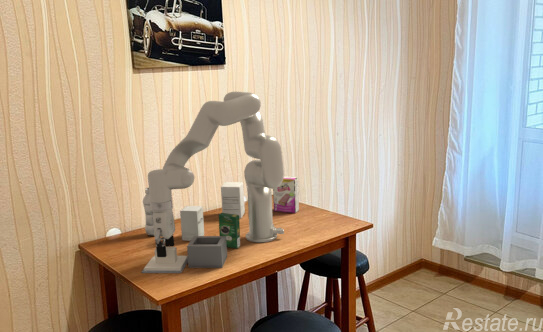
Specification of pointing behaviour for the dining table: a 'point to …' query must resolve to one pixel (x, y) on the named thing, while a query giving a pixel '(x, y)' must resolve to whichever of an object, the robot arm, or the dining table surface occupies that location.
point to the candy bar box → (287, 195)
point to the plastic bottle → (148, 213)
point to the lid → (166, 261)
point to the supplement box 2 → (233, 198)
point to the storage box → (207, 252)
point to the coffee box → (230, 229)
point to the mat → (166, 271)
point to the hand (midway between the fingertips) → (166, 251)
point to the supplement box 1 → (192, 222)
